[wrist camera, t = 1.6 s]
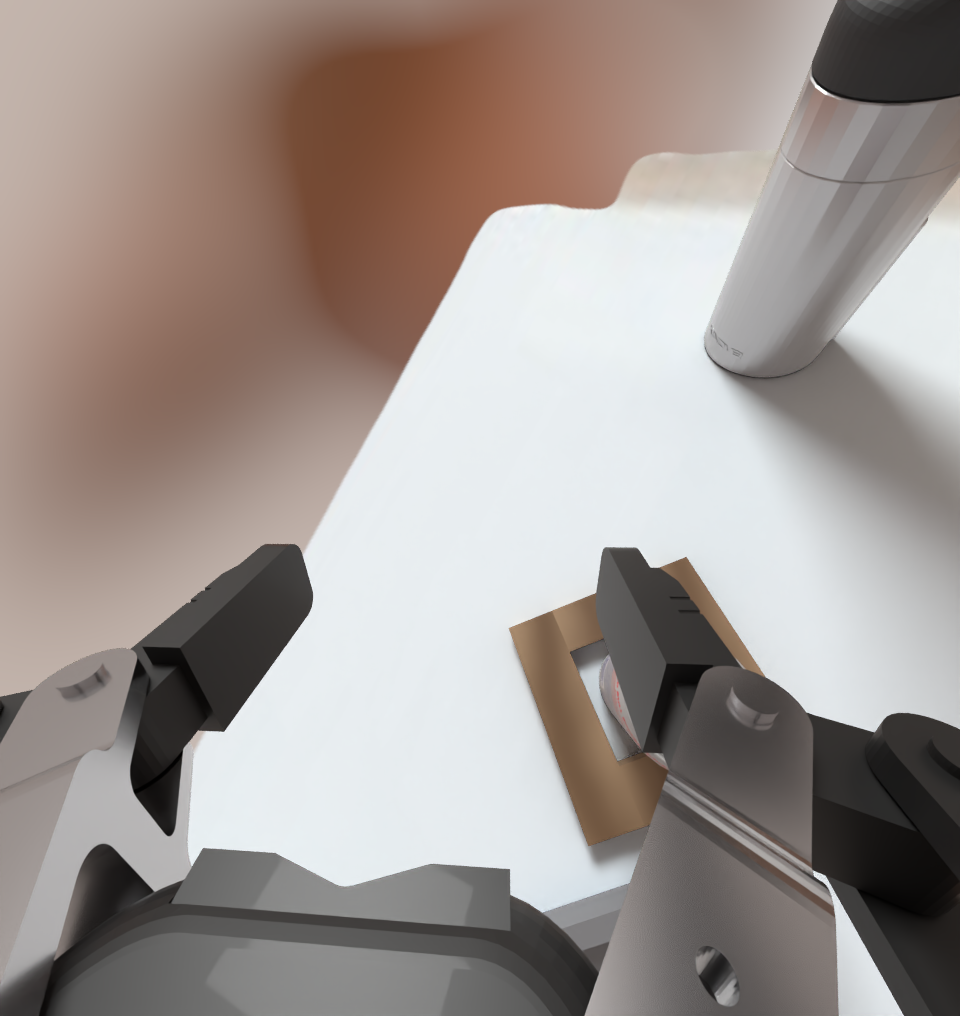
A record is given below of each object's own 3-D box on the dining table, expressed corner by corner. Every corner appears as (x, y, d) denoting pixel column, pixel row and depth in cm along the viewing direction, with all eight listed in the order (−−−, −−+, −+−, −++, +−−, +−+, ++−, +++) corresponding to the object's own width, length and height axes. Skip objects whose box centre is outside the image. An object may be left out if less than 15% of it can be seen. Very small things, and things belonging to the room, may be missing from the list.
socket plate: (681, 561, 27) (686, 556, 26) (809, 759, 21) (822, 764, 20) (511, 629, 28) (508, 628, 27) (587, 837, 22) (588, 846, 21)
